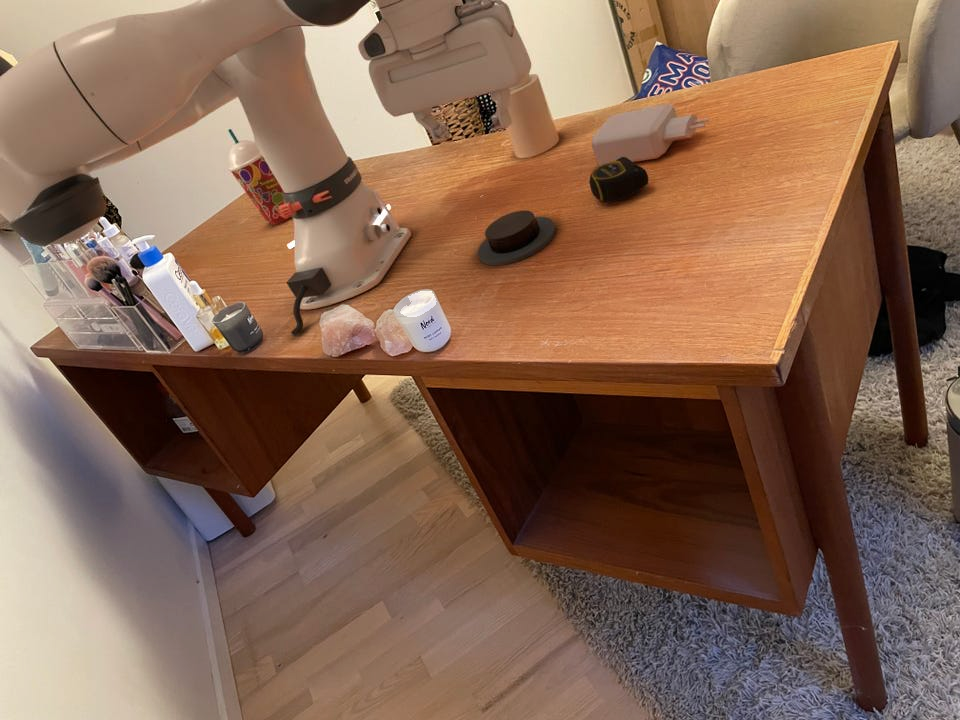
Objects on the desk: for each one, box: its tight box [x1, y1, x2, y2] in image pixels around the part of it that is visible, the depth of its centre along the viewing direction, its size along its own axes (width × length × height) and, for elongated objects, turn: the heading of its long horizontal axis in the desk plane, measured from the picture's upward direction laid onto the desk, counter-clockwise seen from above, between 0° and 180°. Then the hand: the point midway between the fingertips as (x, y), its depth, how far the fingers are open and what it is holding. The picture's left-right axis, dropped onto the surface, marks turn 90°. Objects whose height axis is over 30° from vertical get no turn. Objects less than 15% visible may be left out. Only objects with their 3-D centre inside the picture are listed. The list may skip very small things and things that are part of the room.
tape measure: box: [588, 157, 649, 203], centre depth 90 cm, size 7×7×4 cm
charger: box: [591, 103, 709, 167], centre depth 97 cm, size 5×9×15 cm
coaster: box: [477, 216, 557, 266], centre depth 92 cm, size 11×11×1 cm
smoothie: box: [227, 128, 292, 226], centre depth 139 cm, size 8×8×20 cm
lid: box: [484, 209, 540, 254], centre depth 91 cm, size 7×7×2 cm
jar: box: [494, 73, 560, 159], centre depth 115 cm, size 8×8×13 cm
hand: (472, 134), depth 84 cm, fingers open, 8 cm apart
